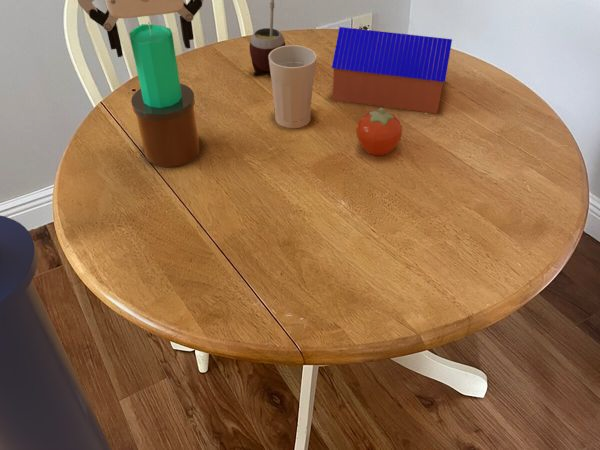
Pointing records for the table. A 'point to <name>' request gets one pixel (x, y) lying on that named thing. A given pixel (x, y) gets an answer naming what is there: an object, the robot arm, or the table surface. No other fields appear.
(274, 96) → the cup
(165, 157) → the jar
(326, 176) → the table surface
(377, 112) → the tomato
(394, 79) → the house
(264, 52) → the mate gourd
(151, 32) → the candle
